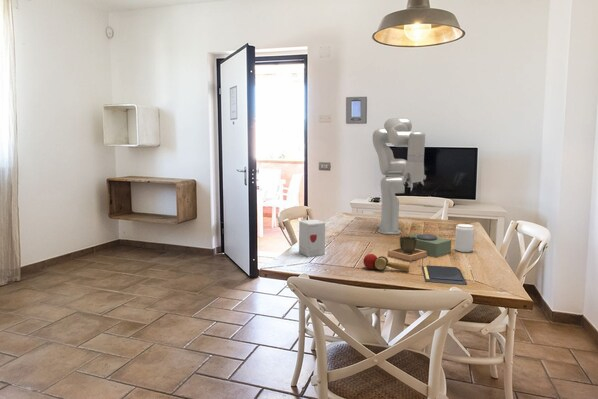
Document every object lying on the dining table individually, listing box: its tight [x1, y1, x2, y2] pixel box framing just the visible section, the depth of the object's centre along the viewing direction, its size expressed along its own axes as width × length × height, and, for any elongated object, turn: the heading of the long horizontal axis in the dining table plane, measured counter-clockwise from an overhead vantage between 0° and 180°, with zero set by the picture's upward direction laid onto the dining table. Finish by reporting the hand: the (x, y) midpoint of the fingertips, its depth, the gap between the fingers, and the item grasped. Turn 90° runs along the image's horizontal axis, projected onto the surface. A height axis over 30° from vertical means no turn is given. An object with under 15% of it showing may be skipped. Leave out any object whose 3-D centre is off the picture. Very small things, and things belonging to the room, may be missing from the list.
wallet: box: [421, 265, 468, 286], centre depth 160 cm, size 20×2×15 cm
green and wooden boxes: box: [387, 232, 452, 263], centre depth 189 cm, size 18×27×7 cm, turn 130°
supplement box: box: [298, 219, 326, 258], centre depth 189 cm, size 9×9×15 cm
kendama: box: [363, 253, 410, 273], centre depth 166 cm, size 8×6×18 cm
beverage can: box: [454, 223, 475, 253], centre depth 194 cm, size 8×8×12 cm
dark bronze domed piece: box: [399, 235, 417, 255], centre depth 185 cm, size 8×7×8 cm
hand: (413, 194), depth 200 cm, fingers open, 9 cm apart
